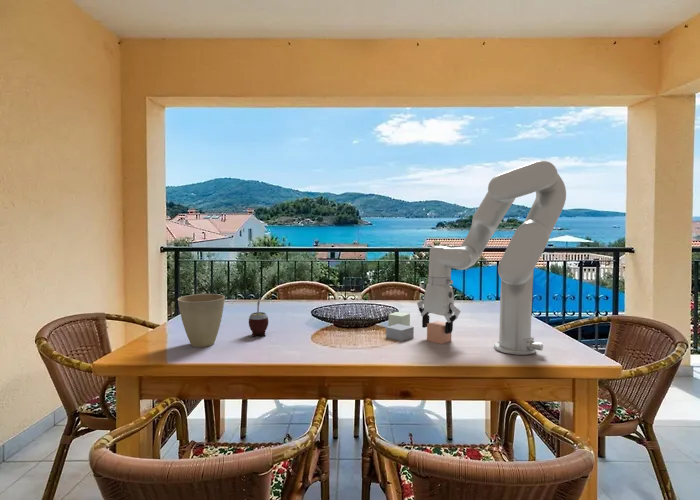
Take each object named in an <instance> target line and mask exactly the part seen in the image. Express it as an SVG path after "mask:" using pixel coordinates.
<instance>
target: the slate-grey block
mask: <svg viewBox="0 0 700 500" xmlns="http://www.w3.org/2000/svg"><path fill="white" fill-rule="evenodd" d="M414 329H415V328H414V327H413V326H411V325H410V326H406V325H401V324H396V325H392V326H386V327H385V338H386V339H390V340H391V339H392V340H395V341H400V342H404V341H407V340H410V339H413V338H414V333H415V332H414Z"/></svg>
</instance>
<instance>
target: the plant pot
mask: <svg viewBox="0 0 700 500" xmlns="http://www.w3.org/2000/svg"><path fill="white" fill-rule="evenodd" d="M225 298H226V297H225V295H223V294H218V293H198V294H197V293H196V294H190V295H184V296H181V297H180V296H179V297H178V298H177V304H178V307H179V313H180V318H181V321H182V324H183V329H184V331H185V334H186V336H187V339H188V340H189V343H190V346H192V347H194V348H205V347H210V346H212V345H214V344H215V342H216V339H217V337H218V334H219V331H220V326H221V322H222V318H223V312H224V305H225Z"/></svg>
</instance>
